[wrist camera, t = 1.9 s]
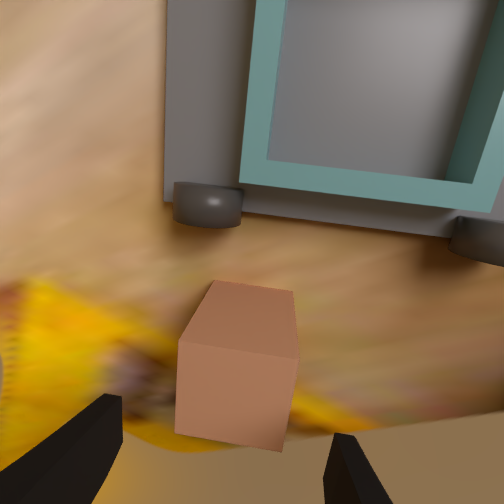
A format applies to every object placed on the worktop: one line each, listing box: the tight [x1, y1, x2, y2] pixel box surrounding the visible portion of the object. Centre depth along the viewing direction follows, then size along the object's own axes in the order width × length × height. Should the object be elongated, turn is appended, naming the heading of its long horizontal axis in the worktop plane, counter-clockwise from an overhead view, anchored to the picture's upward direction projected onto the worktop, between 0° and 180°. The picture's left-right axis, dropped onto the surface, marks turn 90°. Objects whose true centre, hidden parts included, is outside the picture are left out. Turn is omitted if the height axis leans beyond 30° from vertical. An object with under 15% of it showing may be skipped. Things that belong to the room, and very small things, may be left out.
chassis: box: [163, 0, 504, 267], centre depth 11 cm, size 18×14×3 cm
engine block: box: [174, 280, 300, 452], centre depth 14 cm, size 4×4×6 cm
